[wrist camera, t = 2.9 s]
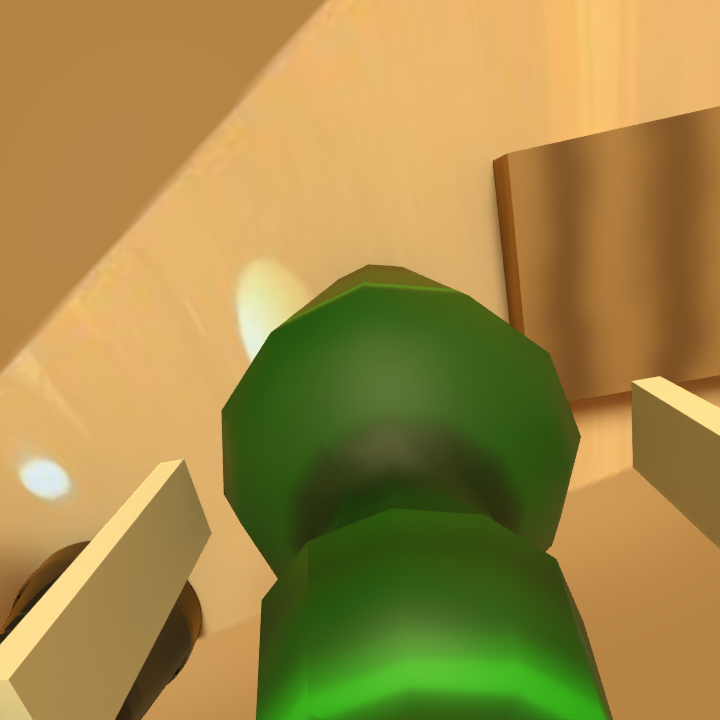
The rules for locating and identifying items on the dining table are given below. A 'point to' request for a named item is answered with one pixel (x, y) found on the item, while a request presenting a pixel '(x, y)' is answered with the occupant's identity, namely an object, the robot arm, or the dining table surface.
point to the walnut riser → (617, 252)
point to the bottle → (408, 511)
